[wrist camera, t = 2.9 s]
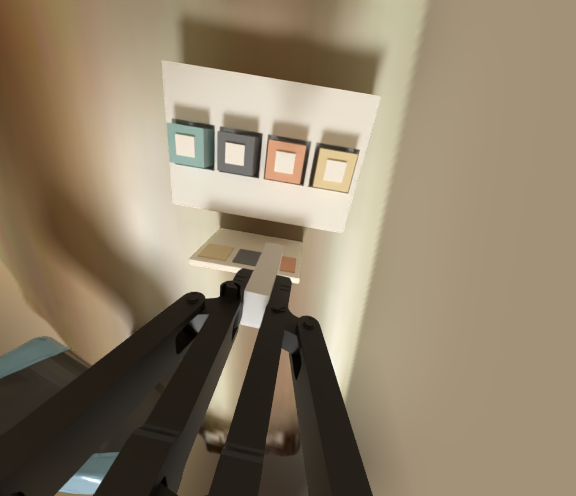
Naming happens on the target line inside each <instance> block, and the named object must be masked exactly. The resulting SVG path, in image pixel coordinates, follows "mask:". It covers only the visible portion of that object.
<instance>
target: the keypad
mask: <svg viewBox="0 0 576 496" xmlns="http://www.w3.org/2000/svg"><path fill="white" fill-rule="evenodd" d="M161 64H162V76H163V89H164V101H165V113H166V122H167V123H176V124H184V125H190V126H196V127H202V128H208V129H214V130H215V165H213V166H210V167H206V168H201V167H195V166H190V165H184V164H178V163H172V162H170V160H169V162H170V174H171V186H172V198H173V204H176V205H182V206H188V207H194V208H199V209H205V210H211V211H217V212H223V213H228V214H234V215H240V216H246V217H252V218H257V219H263V220H269V221H275V222H280V223H286V224H292V225H298V226H304V227H309V228H315V229H321V230H327V231H333V232H338V233H343V231H344V227H345V224H346V220H347V217H348V213H349V209H350V206H351V202H352V199H353V195H354V192H355V188H356V185H357V181H358V178H359V174H360V170H361V167H362V163H363V160H364V156H365V153H366V149H367V146H368V142H369V139H370V135H371V131H372V128H373V124H374V121H375V117H376V114H377V110H378V107H379V103H380V99H381V96H377V95H371V94H365V93H359V92H353V91H347V90H340V89H334V88H328V87H322V86H316V85H310V84H304V83H298V82H292V81H286V80H280V79H274V78H268V77H262V76H256V75H250V74H244V73H238V72H232V71H226V70H220V69H213V68H207V67H201V66H195V65H189V64H183V63H177V62H171V61H165V60H161ZM167 123H166V125H167ZM218 131H223V132H232V133H238V134H244V135H250V136H255V137H261V138H262V139H261V150H260V161H259V172H257V173H256V174H254V175H253V176H248V175H242V174H236V173H231V172H225V171H219V170H217V134H218ZM167 137H168V135H167ZM269 140H279V141H285V142H291V143H297V144H303V145H307V146H306V152H305V158H304V163H303V169H302V175H301V181H300V184H295V183H289V182H283V181H278V180H272V179H266V178H265V173H266V163H267V153H268V143H269ZM319 147H321V148H327V149H333V150H339V151H345V152H350V153H354V154H357V155H358V157H357V160H356V164H355V168H354V171H353V175H352V179H351V183H350V186H349V190H348V192H342V191H336V190H330V189H324V188H319V187H313V176H314V171H315V166H316V161H317V155H318V150H319ZM168 150H169V147H168Z"/></svg>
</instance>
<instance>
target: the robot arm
mask: <svg viewBox="0 0 576 496" xmlns="http://www.w3.org/2000/svg"><path fill="white" fill-rule="evenodd" d="M283 249H284V246H283V245H278V244H273V243H269V242H266V245H265V247H264V249H263V251H262V253H261V256H260V258H259V260H258V262H257V264H256V266H255V269H254V270H250V269H246V268H242V269H240V270H239V271H238V272H237V274H236V275H235V277H234V279H233V281H226V282H224V283H222V284H221V285H220V297H218V298H209V299H205V296H204V295H203V294H202V293H199V292H190V293H187V294H185V295H183V296H182V297H181V298H179V299H178V300H177V301H176V302H174V303H173V304H172V305H170V306H169V307H168V308H167V309H165V310H164V311H163V312H161V313H160V314H159V315H157V316H156V317H155V318H154V319H152V320H151V321H150V322H148V323H147V324H146V325H144V326H143V327H142V328H141V329H139V330H138V331H137V332H135V333H134V334H133V335H131V336H130V337H129V338H128V339H126V340H125V341H124V342H122V343H121V344H120V345H119V346H117V347H116V348H115V349H113V350H112V351H111V352H109V353H108V354H107V355H106V356H104V357H103V358H102V359H100V360H99V361H98V362H96V363H95V364H94V365H91V364H90V363H89V362H87V361H86V360H84V359H83V358H82V357H80V356H79V355H78V354H76V353H75V352H74V351H72V350H71V348H70V347H66V346H65V345H63V344H61V343H60V342H58V341H56V340H55V339H53V338H51V337H47V336H42V337H37V338H34V339H32V340H30V341H28V342H26V343H24V344H22V345H20V346H18V347H16V348H15V349H13V350H11V351H9V352H8V353H6V354H4V355H3V356H1V357H0V496H54V495H55V494H56V493H57V492H58V491H60V492H67V493H75V494H93V496H178V495H176V494H177V492H178V489H179V486H180V483H181V479H182V475H183V471H184V468H185V465H186V462H187V459H188V457H189V454H190V452H191V449H192V447H193V444H194V441H195V439H196V436H197V434H198V431H199V429H200V426H201V424H202V421H203V419H204V416H205V414H206V411H207V409H208V406H209V403H210V401H211V398H212V396H213V393H214V391H215V388H216V386H217V383H218V381H219V378H220V376H221V373H222V370H223V368H224V365H225V363H226V360H227V358H228V355H229V353H230V350H231V348H232V345H233V343H234V340H235V338H236V335H237V332H238V327H239V323H240V321H241V325H246V326H251V327H255V328H260V329H259V332H258V335H257V339H256V342H255V345H254V349H253V352H252V356H251V359H250V362H249V366H248V369H247V372H246V376H245V379H244V382H243V386H242V389H241V393H240V396H239V399H238V403H237V406H236V409H235V413H234V416H233V420H232V423H231V426H230V430H229V433H228V436H227V440H226V443H225V445H224V447H223V449H222V452H221V455H220V458H219V461H218V464H217V468H216V471H215V475H214V478H213V481H212V484H211V488H210V491H209V494H208V495H207V496H258V492H259V486H260V480H261V474H262V467H263V460H264V450H265V444H266V438H267V432H268V426H269V420H270V414H271V408H272V402H273V396H274V390H275V384H276V378H277V372H278V366H279V360H280V354H281V348H283V349H284V350H286V351H288V352H289V357H290V364H291V372H292V379H293V386H294V393H295V400H296V408H297V415H298V422H299V429H300V437H301V444H302V451H303V458H304V465H305V472H306V479H307V487H308V494H309V496H373V495H372V492H371V488H370V485H369V482H368V479H367V476H366V472H365V469H364V466H363V462H362V459H361V456H360V453H359V450H358V446H357V443H356V440H355V437H354V433H353V430H352V427H351V424H350V421H349V417H348V414H347V411H346V408H345V404H344V401H343V398H342V395H341V392H340V388H339V385H338V382H337V379H336V375H335V372H334V369H333V366H332V363H331V359H330V356H329V353H328V350H327V346H326V343H325V340H324V337H323V334H322V330H321V327H320V324H319V322H318V321H317V320H316V319H315V318H313V317H311V316H302V317H300V318H298V317H296V316H294V315H293V314H292V313H291V312H290V311H289V309H288V303H289V297H290V291H291V285H292V281H291V279H290V278H289V277H285V276H280V275H278V274H279V270H280V265H281V260H282V254H283Z"/></svg>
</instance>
